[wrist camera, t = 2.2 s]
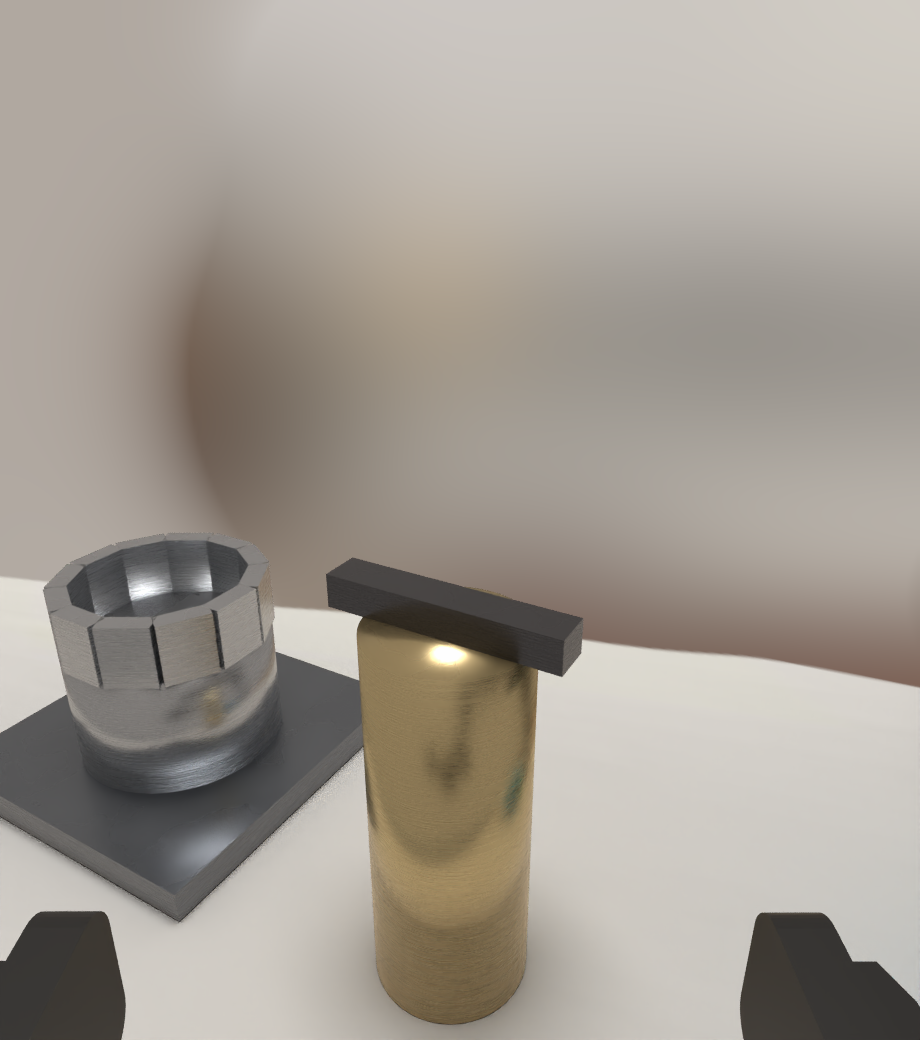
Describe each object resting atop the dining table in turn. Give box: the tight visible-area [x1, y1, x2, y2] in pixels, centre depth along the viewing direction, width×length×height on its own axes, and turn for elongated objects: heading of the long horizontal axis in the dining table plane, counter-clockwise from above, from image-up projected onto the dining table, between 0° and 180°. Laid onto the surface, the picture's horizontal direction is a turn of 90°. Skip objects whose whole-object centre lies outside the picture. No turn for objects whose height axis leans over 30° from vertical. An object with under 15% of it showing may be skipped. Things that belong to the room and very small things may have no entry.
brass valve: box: [326, 558, 583, 1024], centre depth 24 cm, size 5×7×13 cm
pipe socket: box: [0, 533, 363, 922], centre depth 34 cm, size 13×13×8 cm
